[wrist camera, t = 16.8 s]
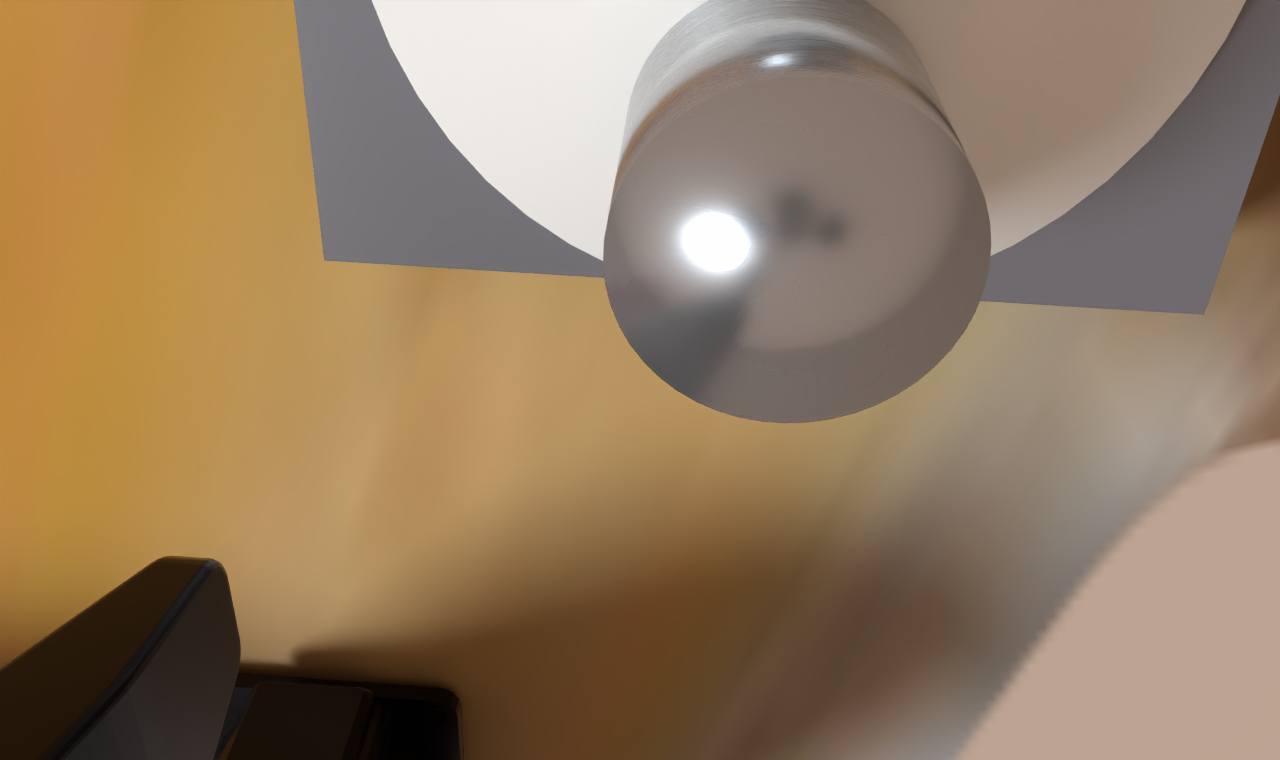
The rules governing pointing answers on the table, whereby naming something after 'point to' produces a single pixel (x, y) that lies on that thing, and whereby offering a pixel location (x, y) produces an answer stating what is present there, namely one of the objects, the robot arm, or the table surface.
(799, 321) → the cylinder
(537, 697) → the table surface
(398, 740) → the robot arm
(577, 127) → the scale
